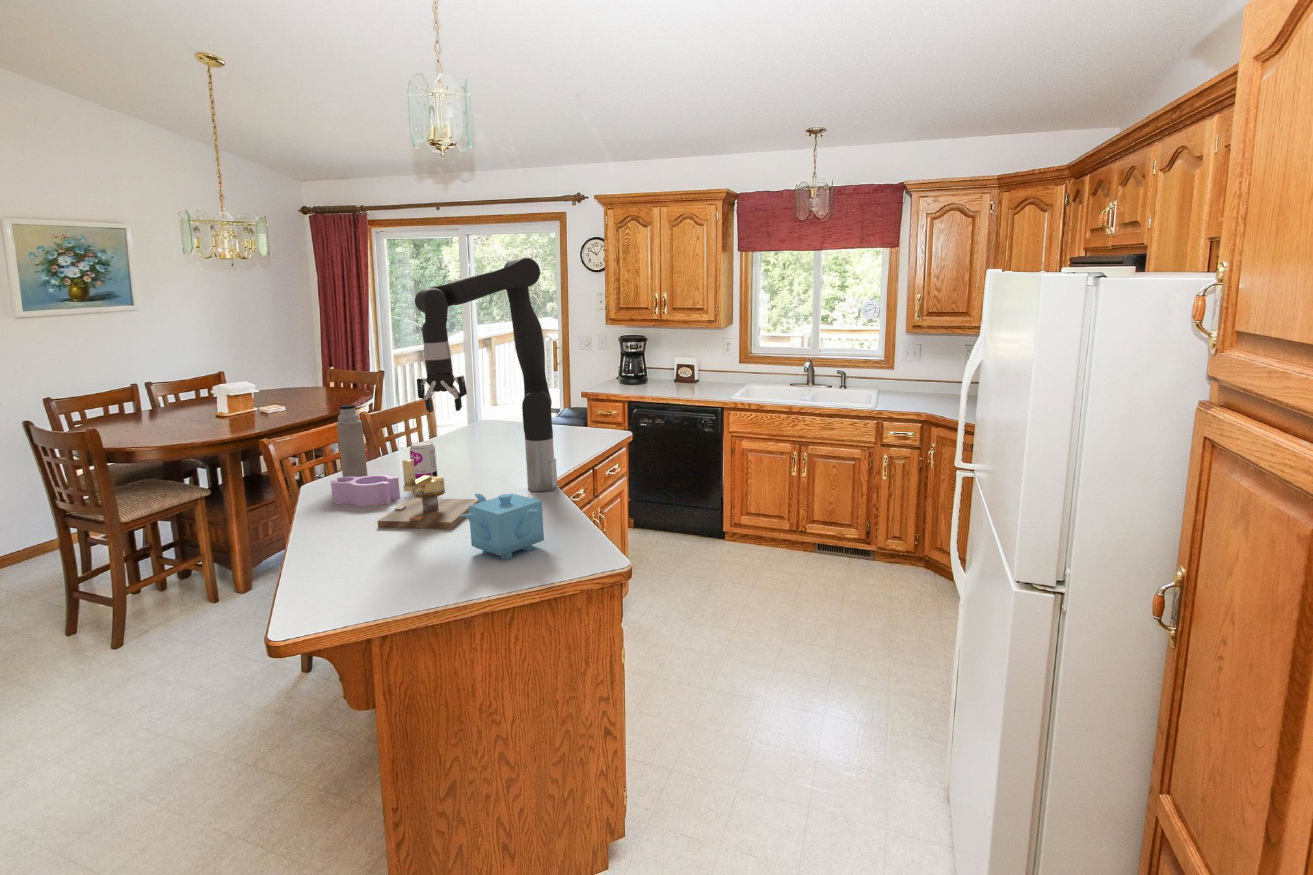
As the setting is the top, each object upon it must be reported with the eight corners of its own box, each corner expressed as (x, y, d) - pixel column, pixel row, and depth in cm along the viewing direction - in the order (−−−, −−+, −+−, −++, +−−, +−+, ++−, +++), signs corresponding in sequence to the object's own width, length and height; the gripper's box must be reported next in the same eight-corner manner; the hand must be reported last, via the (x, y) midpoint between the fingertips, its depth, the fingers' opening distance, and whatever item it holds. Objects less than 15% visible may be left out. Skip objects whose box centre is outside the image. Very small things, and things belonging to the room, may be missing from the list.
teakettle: (545, 536, 194) (542, 483, 191) (542, 561, 176) (539, 504, 173) (474, 540, 192) (470, 487, 189) (464, 566, 174) (459, 508, 171)
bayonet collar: (424, 487, 218) (421, 447, 215) (452, 488, 216) (449, 448, 213) (394, 504, 201) (390, 461, 198) (424, 505, 199) (420, 462, 197)
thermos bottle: (351, 481, 253) (342, 403, 247) (372, 481, 253) (364, 403, 247) (339, 487, 246) (329, 407, 240) (361, 487, 245) (352, 407, 239)
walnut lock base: (480, 505, 222) (478, 484, 221) (451, 529, 201) (449, 506, 199) (413, 504, 225) (411, 483, 223) (378, 527, 203) (375, 505, 202)
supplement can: (422, 491, 239) (418, 447, 236) (408, 487, 244) (404, 444, 241) (443, 485, 246) (439, 443, 242) (428, 481, 250) (424, 440, 247)
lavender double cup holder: (325, 506, 225) (323, 485, 224) (346, 494, 237) (343, 474, 236) (386, 506, 223) (384, 485, 222) (404, 495, 236) (402, 475, 234)
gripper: (465, 354, 214) (471, 408, 217) (419, 357, 215) (426, 410, 219) (456, 357, 207) (463, 412, 210) (409, 360, 208) (416, 414, 212)
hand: (444, 411), depth 215 cm, fingers open, 8 cm apart
